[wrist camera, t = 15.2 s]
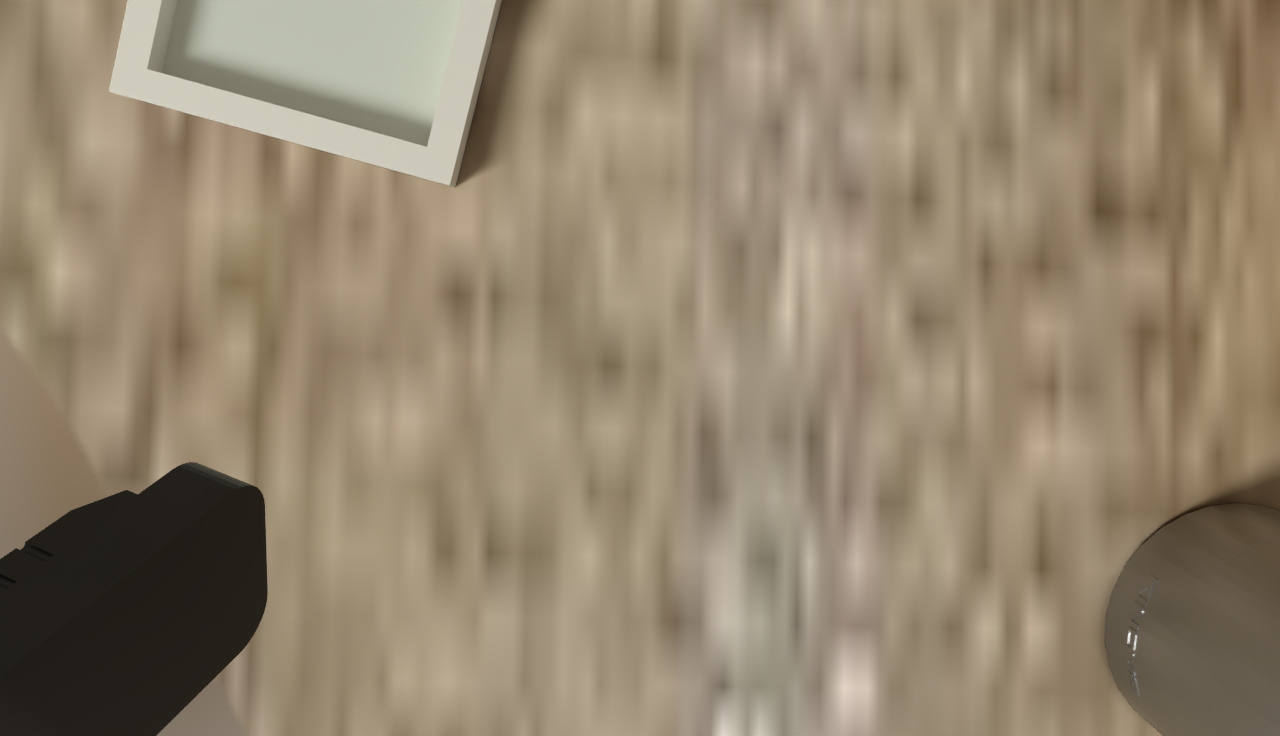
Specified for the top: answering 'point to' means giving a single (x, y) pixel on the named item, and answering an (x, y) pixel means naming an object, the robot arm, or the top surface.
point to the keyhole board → (319, 72)
